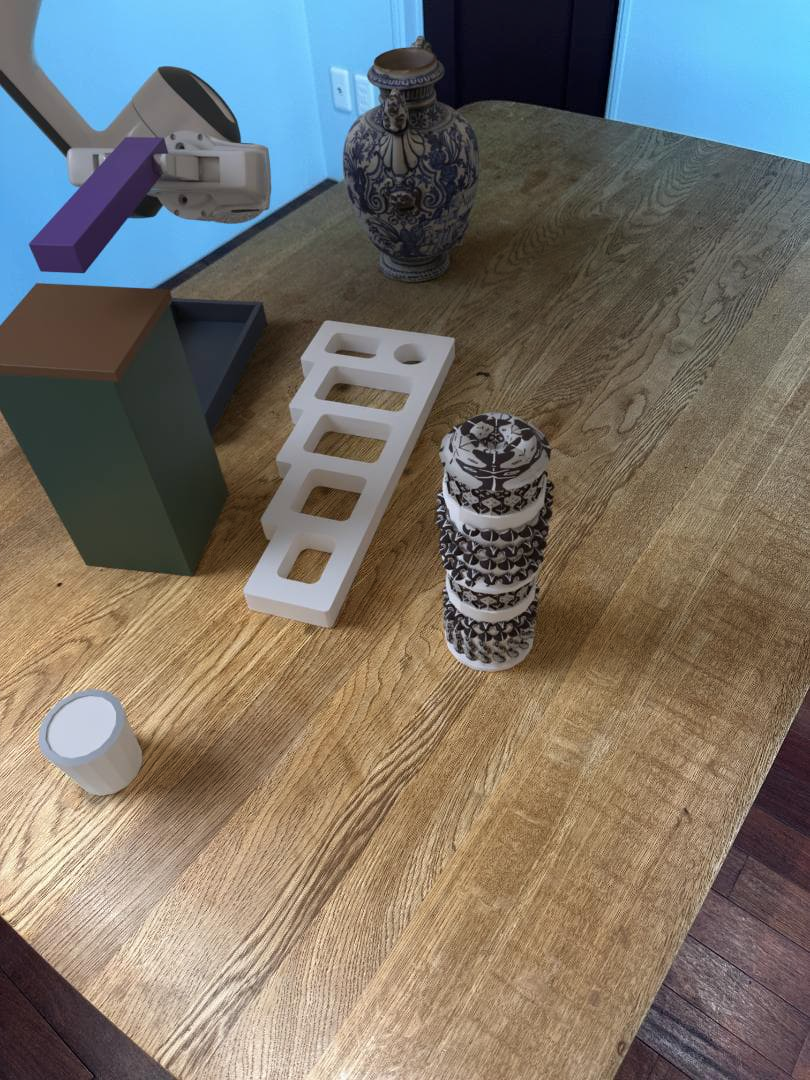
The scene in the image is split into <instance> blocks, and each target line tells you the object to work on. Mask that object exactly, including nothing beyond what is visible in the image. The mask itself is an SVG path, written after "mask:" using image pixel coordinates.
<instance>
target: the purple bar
mask: <svg viewBox="0 0 810 1080" xmlns="http://www.w3.org/2000/svg"><path fill="white" fill-rule="evenodd" d="M153 154H168V150H167V146H166V143H165V139H164V138H158V137H125V138H124V139H123V141H122V142H121V143H120V144H119V145H118V146H117V147H116V148H115V149H114V150H113V152H112V153H111V154H110V155H109V156H108V157H107V158H106V159H105V160H104V161H103V163H102V164H101V165H100V166H99V167H98V168H97V169H96V170H95V171H94V172H93V174H92V175H91V176H90V177H89V178H88V179H87V180H86V181H85V182H84V183H83V185H82V186H81V187H78V189H77V190H76V191H75V192H74V193H73V195H71V197H70V198H69V199H68V200H67V201H66V202H65V203H64V204H63V205H62V207H60V209H59V210H58V211H56V213H55V214H54V215H53V216H52V217H51V219H49V220H48V222H47V223H45V225H44V226H43V227H42V228H41V230H40V231H38V233H37V234H36V235H35V236H34V237H33V239H31V240H30V241H29V243H28V246H29V249H30V251H31V253H32V256H33V258H34V260H35V262H36V264H37V267H38V269H39V271H40V273H41V272H42V273H43V272H44V273H67V274H85V273H86V272H87V271H88V270H89V268H90V267H91V266H92V265H93V263H94V262H95V261H96V259H97V258H98V257H99V255H100V254H101V253H102V252H103V251H104V249H105V248H106V247H107V245H108V244H109V243H110V242H111V240H112V239H113V238H114V237H115V235H116V234H117V233H118V232H119V230H120V229H121V228H122V226H123V225H124V224H125V223H126V221H127V220H128V219H130V218H129V216H130V215H131V214H132V212H133V211H134V210H135V209H136V207H137V206H138V205H139V204H140V202H141V201H142V200H143V198H144V197H145V196H146V195H147V193H148V192H149V191H150V190H151V188H152V187H153V186H154V185H155V183H156V182H157V181H158V179H159V178H160V177H161V175H156V174H154V172H153V162H152V155H153Z"/></svg>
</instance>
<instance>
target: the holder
mask: <svg viewBox="0 0 810 1080" xmlns="http://www.w3.org/2000/svg"><path fill="white" fill-rule="evenodd" d="M339 351H349V352H355V353H360V354H361V353H362V354H368V355H374V356H373V357H370V358H366V357H360V356H353V355H346V354H339V353H337V352H339ZM455 358H456V340H455V338H454V337H450V336H445V335H437V334H436V335H435V334H431V333H430V334H428V333H422V332H415V331H408V330H401V329H400V330H399V329H394V328H393V329H392V328H385V327H377V326H373V325H372V326H371V325H363V324H356V323H349V322H342V321H334V320H325V321H324V322H323V323H322V324H321V326H320V327H319V329H318V331H317V332H316V334H315V335H314V337H313V338H312V340H311V341H310V343H309V345H308V346H307V347H306V349H305V350H304V352H303V354H302V355H301V356H300V363H301V369H302V375H303V378H305V379H303V382H302V384H301V385H300V387H299V388H298V390H297V391H296V393H295V395H294V396H293V398H292V399H291V401H290V402H289V404H288V409H289V412H290V418H291V423H292V425H294V428H293V429H292V431H291V432H290V434H289V436H288V437H287V439H286V441H284V443H283V445H282V447H281V449H280V450H279V452H278V454H277V455H276V457H275V462H276V466H277V471H278V474H279V478H280V479H282V482H281V483H280V485H279V487H278V489H277V490H276V492H275V493H274V496H273V497H272V499H271V501H270V502H269V504H268V506H267V508H266V509H265V511H264V512H263V514H262V516H261V517H260V523H261V527H262V530H263V533H264V534H263V535H264V537H265V540H268V541H269V542H268V545H267V546H266V548H265V550H264V551H263V554H262V555H261V557H260V559H259V561H258V562H257V564H256V566H255V567H254V570H253V571H252V573H251V575H250V577H249V579H248V580H247V582H246V584H245V585H244V588H243V590H242V591H243V595H244V597H245V601H246V603H247V606H248V610H250V611H254V612H257V613H262V614H265V615H270V616H275V617H278V618H284V619H286V620H291V621H296V622H300V623H305V624H308V625H312V626H316V627H322V628H324V629H325V628H326V629H331V628H333V627H334V624H335V622H336V620H337V619H338V616H339V614H340V611H341V609H342V607H343V605H344V603H345V600H346V598H347V596H348V594H349V592H350V589H351V587H352V585H353V583H354V581H355V578H356V577H357V574H358V573H359V571H360V567H361V565H362V563H363V561H364V559H365V556H366V554H367V552H368V551H369V548H370V546H371V543H372V541H373V539H374V537H375V534H376V532H377V530H378V528H379V525H380V523H381V522H382V519H383V517H384V515H385V513H386V510H387V509H388V506H389V503H390V501H391V499H392V497H393V495H394V493H395V490H396V488H397V486H398V483H399V482H400V479H401V477H402V475H403V473H404V471H405V468H406V466H407V464H408V462H409V461H410V460H409V459H410V457H411V456H412V453H413V451H414V449H415V446H416V444H417V442H418V439H419V438H420V435H421V433H422V431H423V428H424V426H425V424H426V423H427V420H428V418H429V415H430V414H431V411H432V409H433V407H434V404H435V402H436V401H437V398H438V395H439V394H440V391H441V389H442V387H443V384H444V382H445V381H446V378H447V376H448V374H449V371H450V370H451V367H452V365H453V363H454V360H455ZM412 361H414V362H418V363H415V364H414V363H413V364H408V363H407V362H412ZM337 384H344V385H351V386H357V387H363V388H368V389H369V388H370V389H376V390H382V391H387V392H394V393H401V394H407V395H408V398H407V400H406V402H405V404H404V406H403V408H402V409H401V410H397V411H393V410H387V409H380V408H375V407H369V406H363V405H356V404H351V403H344V402H338V401H331V400H326V399H327V396H328V395H329V394H330V392H331V390H332V389H333V387H334V386H335V385H337ZM329 432H334V433H338V434H339V433H340V434H344V435H349V436H356V437H362V438H367V439H374V440H379V441H385V442H386V443H385V444H384V447H383V449H382V451H381V453H380V455H379V457H378V459H377V460H376V461H374V462H367V461H361V460H354V459H350V458H343V457H338V456H333V455H327V454H321V453H317V452H315V450H316V448H317V446H318V445H319V443H320V441H321V439H322V437H323V436H324V435H325V434H326V433H329ZM317 487H324V488H330V489H334V490H339V491H340V490H341V491H345V492H351V493H354V494H355V493H356V494H360V495H359V498H358V499H357V501H356V504H355V506H354V508H353V510H352V513H351V514H350V516H349V517H348V518H347V519H346V520H336V519H331V518H326V517H322V516H316V515H311V514H307V513H302V512H301V511H302V510H303V508H304V505H305V504H306V502H307V500H308V498H309V496H310V495H311V493H312V491H314V489H315V488H317ZM308 549H310V550H315V551H318V552H323V553H329V554H331V555H330V557H329V558H328V562H327V563H326V566H325V567H324V569H323V571H322V573H321V575H320V578H319V579H318V580H317V581H316V582H313V583H306V582H302V581H297V580H293V579H288V577H289V575H290V573H291V571H292V569H293V567H294V566H295V563H296V561H297V560H298V557H299V555H300V554H301V552H302V551H304V550H308Z"/></svg>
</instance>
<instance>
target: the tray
mask: <svg viewBox="0 0 810 1080" xmlns="http://www.w3.org/2000/svg"><path fill="white" fill-rule="evenodd" d="M169 305H170V309H171V312H172V315H173V318H174V321H175V324H176V328H177V331H178V334H179V337H180V340H181V344H182V347H183V350H184V353H185V356H186V359H187V363H188V366H189V369H190V372H191V375H192V378H193V382H194V385H195V388H196V391H197V394H198V397H199V401H200V404H201V407H202V410H203V413H204V417H205V420H206V423H207V426H208V429H209V432H210V436H211V438H212V437H213V435H214V434H215V431H216V429H217V427H218V425H219V423H220V421H221V419H222V417H223V415H224V413H225V411H226V409H227V406H228V405H229V403H230V401H231V398H232V397H233V394H235V393H234V392H235V391H236V389H237V387H238V384H239V382H240V381H241V378H242V376H243V375H244V372H245V370H246V368H247V366H248V365H249V362H250V360H251V358H252V357H253V354H254V352H255V349H256V348H257V346H258V344H259V341H260V339H261V337H262V335H263V333H264V332H265V330H266V328H267V326H268V322H267V317H266V312H265V307H264V303H263V302H262V301H243V300H242V301H241V300H223V299H205V298H203V299H201V298H185V297H172V300H171V302H170V303H169Z"/></svg>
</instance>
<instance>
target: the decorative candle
mask: <svg viewBox="0 0 810 1080" xmlns="http://www.w3.org/2000/svg"><path fill="white" fill-rule="evenodd" d="M438 454H439V458H440V462H441V464H442V467H443V470H444V473H443V478H442V489H440V490H439V491H437V494H436V500H437V502H438V505H436V506H435V514H436V516H437V518H435V523H436V526H437V527H438V528H439V529H440V534H439V536H438V543H439V545H440V546H439V548H438V552H439V554H440V555H441V558H442V567H443V569H444V570H445V572H446V575H445V577H444V584H445V586H444V587H443V588H442V590H441V595H442V596H443V597H444V599H443V600H442V605H443V607H444V609H443V611H442V618H443V623H442V626H443V629H444V638H445V642H446V645H447V649H448V650H449V652H450V654H452V655H453V656H454V658H455V659H456V660H457V661H458V662H459V663H461V664H463V665H464V666H466V667H468V668H470V669H472V670H473V671H482V672H487V673H495V672H501V671H506V670H510V669H512V668H513V667H516V665H518V664H519V663H522V662H524V660H525V659H526V658H527V656H528V655H529V653H530V651H531V650H532V649H533V644H534V638H535V637H536V633H535V629H536V628H537V621H536V620H535V618H536V617H537V615H538V610H537V607H538V605H539V598H538V597H537V596H538V595H540V590H541V588H540V587H539V586H538V585H537V579H538V574H537V573H539V571H540V570H541V567H542V563H543V562H544V559H545V556H544V551H545V549H546V548H547V546H548V540H547V538H546V537H547V536H548V535H549V531H550V526H549V523H548V522H549V521H550V519H551V518H552V517H553V513H554V512H553V509H552V506H553V504H554V497H555V496H554V495H553V493H551V492H552V491H553V490H554V489H555V484H554V483H553V481H552V480H550V479H548V476H549V473H548V471H547V470H546V469H547V468H548V467H549V465H550V462H551V454H552V448H551V446H550V443H549V441H548V438H547V437H546V435H545V434H544V433H543V432H542V431H540V429H538V428H537V427H536V426H535V425H533V424H532V423H530V422H528V421H525V420H524V419H523V418H521V417H518V416H516V415H513V414H510V413H507V412H506V413H505V412H495V411H492V412H486V413H480V414H477V415H475V416H472V417H471V418H469V419H467V420H465V421H462V422H461V423H459V424H457V425H455V426H453V428H451V429H450V430H449V432H448V433H446V434H445V436H444V437H443V438H442V440H441V444H440V448H439V452H438Z"/></svg>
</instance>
